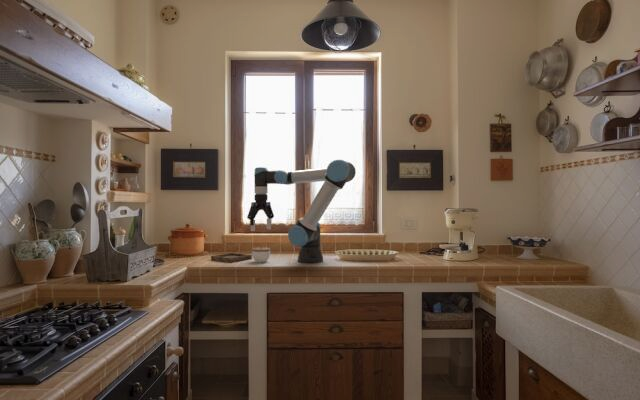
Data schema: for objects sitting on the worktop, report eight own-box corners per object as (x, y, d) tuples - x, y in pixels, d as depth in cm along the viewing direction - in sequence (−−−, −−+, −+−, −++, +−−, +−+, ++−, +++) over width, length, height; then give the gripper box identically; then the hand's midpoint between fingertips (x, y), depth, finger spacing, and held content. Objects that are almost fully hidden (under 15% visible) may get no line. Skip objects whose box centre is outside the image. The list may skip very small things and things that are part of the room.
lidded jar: (261, 263, 222) (261, 247, 222) (248, 262, 229) (248, 246, 229) (274, 261, 231) (274, 245, 231) (261, 259, 237) (261, 244, 237)
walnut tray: (251, 259, 240) (251, 254, 240) (230, 262, 226) (230, 258, 226) (232, 256, 249) (232, 252, 249) (211, 260, 235) (211, 256, 235)
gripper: (270, 194, 242) (270, 228, 242) (240, 193, 222) (241, 231, 222) (279, 194, 238) (279, 228, 238) (250, 193, 217) (250, 231, 217)
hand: (261, 230), depth 230 cm, fingers open, 13 cm apart
